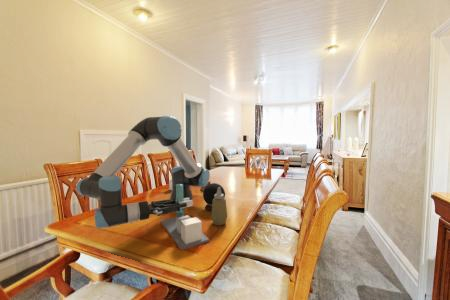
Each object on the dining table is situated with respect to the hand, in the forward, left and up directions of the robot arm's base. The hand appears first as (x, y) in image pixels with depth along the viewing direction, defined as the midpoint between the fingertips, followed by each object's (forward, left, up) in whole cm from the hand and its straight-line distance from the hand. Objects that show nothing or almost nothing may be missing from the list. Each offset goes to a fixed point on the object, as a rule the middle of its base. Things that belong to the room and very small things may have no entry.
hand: (190, 201), depth 99 cm
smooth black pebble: (-7, +25, -12) cm, 29 cm away
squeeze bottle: (+9, +11, -12) cm, 18 cm away
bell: (-40, +53, -12) cm, 68 cm away
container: (-61, +39, -12) cm, 74 cm away
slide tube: (+4, -7, -10) cm, 13 cm away
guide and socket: (+2, -6, -12) cm, 14 cm away
